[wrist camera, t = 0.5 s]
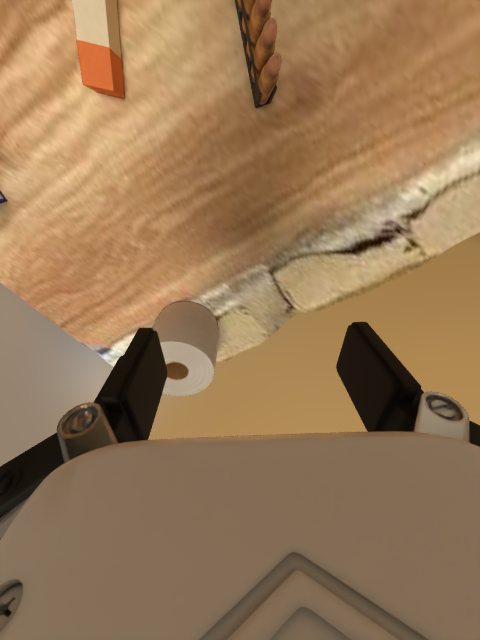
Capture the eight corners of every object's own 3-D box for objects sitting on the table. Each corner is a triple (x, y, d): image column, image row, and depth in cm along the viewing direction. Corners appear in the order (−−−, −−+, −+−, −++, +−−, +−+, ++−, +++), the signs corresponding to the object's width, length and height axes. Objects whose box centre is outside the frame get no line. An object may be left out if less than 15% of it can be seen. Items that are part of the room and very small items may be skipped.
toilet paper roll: (224, 346, 48) (221, 391, 39) (167, 354, 49) (151, 400, 39) (211, 295, 42) (205, 335, 32) (146, 305, 43) (121, 346, 33)
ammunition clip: (228, -35, 22) (225, -196, 12) (247, -44, 22) (259, -215, 12) (255, 108, 28) (268, 78, 18) (270, 103, 28) (291, 69, 18)
